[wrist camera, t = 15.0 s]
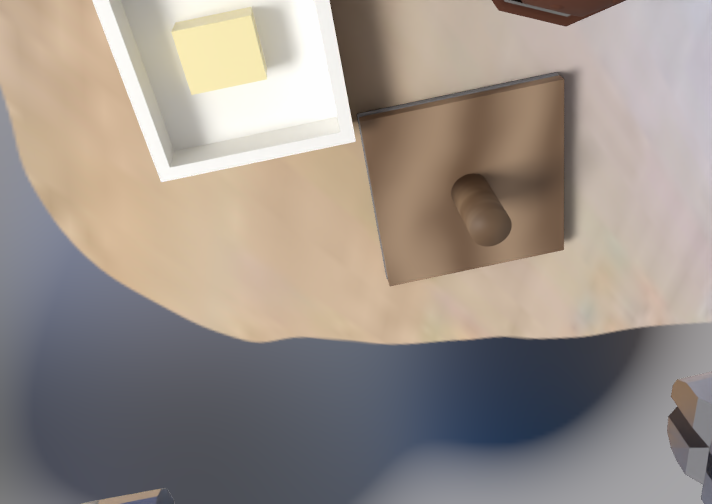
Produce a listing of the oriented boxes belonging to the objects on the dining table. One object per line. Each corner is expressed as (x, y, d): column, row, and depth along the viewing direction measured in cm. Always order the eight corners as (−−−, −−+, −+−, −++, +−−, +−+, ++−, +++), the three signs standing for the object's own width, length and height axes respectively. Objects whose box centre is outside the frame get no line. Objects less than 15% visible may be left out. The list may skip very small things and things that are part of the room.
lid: (559, 75, 42) (597, 107, 37) (559, 244, 49) (591, 289, 44) (358, 117, 42) (370, 155, 37) (388, 280, 49) (401, 329, 44)
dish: (311, -82, 36) (315, -75, 34) (350, 122, 43) (355, 141, 40) (95, -37, 36) (82, -27, 33) (167, 160, 43) (161, 182, 40)
